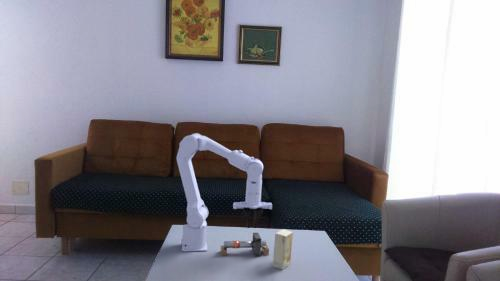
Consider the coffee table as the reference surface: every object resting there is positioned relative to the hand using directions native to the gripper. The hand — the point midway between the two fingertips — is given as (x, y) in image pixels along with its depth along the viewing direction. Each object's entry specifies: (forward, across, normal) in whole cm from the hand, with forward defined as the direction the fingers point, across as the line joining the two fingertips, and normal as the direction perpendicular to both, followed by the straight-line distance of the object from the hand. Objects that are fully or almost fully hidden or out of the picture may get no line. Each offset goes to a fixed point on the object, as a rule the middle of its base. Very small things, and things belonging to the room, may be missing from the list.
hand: (251, 226), depth 132 cm
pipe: (+10, -2, 0) cm, 11 cm away
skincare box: (+11, +10, -10) cm, 18 cm away
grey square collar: (+10, +2, 0) cm, 11 cm away
